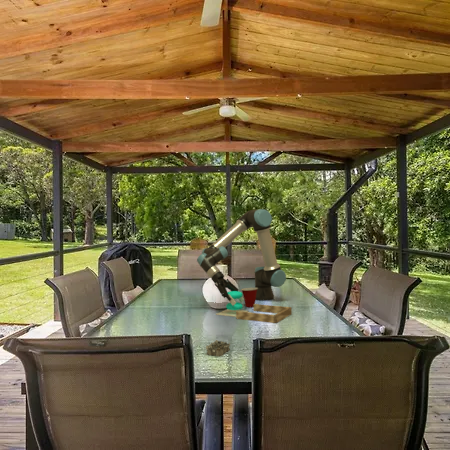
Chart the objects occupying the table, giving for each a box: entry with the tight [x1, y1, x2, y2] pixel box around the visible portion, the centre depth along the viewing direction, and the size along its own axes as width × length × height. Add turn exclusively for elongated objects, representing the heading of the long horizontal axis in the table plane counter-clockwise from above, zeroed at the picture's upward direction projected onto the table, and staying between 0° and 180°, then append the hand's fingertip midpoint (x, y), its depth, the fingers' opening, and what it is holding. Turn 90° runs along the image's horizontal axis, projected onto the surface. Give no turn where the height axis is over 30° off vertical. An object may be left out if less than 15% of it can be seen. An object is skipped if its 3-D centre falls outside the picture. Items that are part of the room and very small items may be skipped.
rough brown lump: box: [205, 339, 231, 357], centre depth 162 cm, size 11×8×4 cm
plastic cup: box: [241, 287, 258, 308], centre depth 252 cm, size 11×11×12 cm
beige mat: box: [215, 308, 249, 318], centre depth 234 cm, size 14×16×1 cm
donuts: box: [225, 290, 244, 310], centre depth 233 cm, size 10×10×10 cm
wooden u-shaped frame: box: [235, 303, 293, 324], centre depth 224 cm, size 24×24×4 cm
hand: (238, 302), depth 232 cm, fingers closed on donuts, 10 cm apart
